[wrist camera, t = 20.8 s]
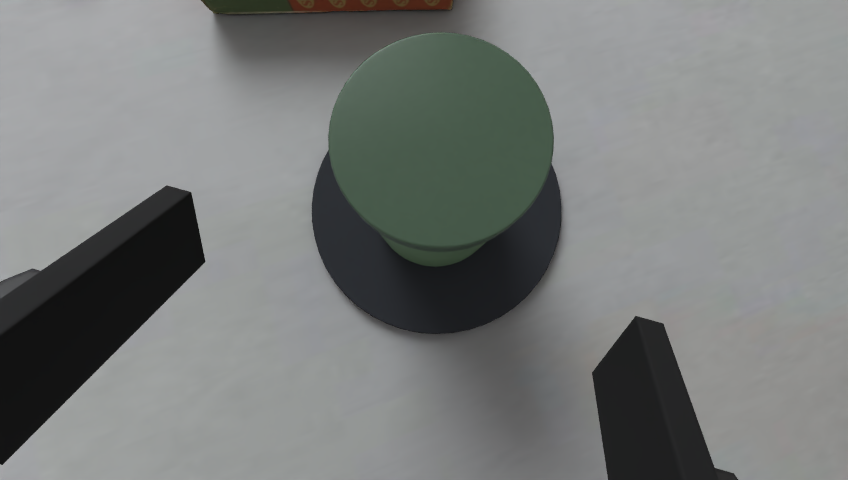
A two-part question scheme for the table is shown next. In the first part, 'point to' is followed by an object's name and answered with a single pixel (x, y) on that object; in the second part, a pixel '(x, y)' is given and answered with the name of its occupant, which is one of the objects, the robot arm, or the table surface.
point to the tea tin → (440, 144)
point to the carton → (320, 5)
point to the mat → (426, 285)
